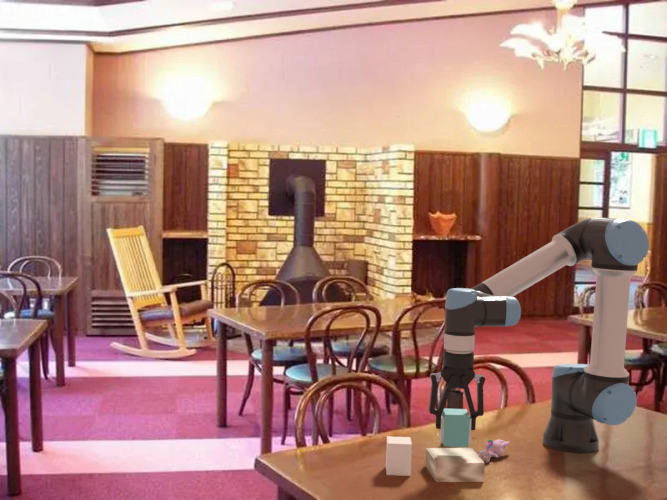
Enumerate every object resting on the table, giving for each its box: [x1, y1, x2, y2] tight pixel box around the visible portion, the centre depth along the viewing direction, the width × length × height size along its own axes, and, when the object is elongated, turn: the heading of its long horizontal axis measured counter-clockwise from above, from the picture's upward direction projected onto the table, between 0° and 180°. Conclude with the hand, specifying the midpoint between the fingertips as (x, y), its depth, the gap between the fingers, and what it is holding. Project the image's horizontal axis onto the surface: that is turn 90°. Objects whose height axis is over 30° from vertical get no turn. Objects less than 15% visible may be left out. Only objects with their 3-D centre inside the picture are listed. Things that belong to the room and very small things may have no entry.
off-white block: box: [385, 435, 413, 477], centre depth 209 cm, size 6×6×8 cm
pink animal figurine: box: [476, 438, 510, 464], centre depth 222 cm, size 6×6×15 cm
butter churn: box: [446, 388, 465, 409], centre depth 233 cm, size 9×10×28 cm
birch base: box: [424, 447, 486, 483], centre depth 209 cm, size 12×12×5 cm
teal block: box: [442, 407, 470, 448], centre depth 208 cm, size 6×6×8 cm
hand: (454, 441), depth 209 cm, fingers closed on teal block, 6 cm apart
